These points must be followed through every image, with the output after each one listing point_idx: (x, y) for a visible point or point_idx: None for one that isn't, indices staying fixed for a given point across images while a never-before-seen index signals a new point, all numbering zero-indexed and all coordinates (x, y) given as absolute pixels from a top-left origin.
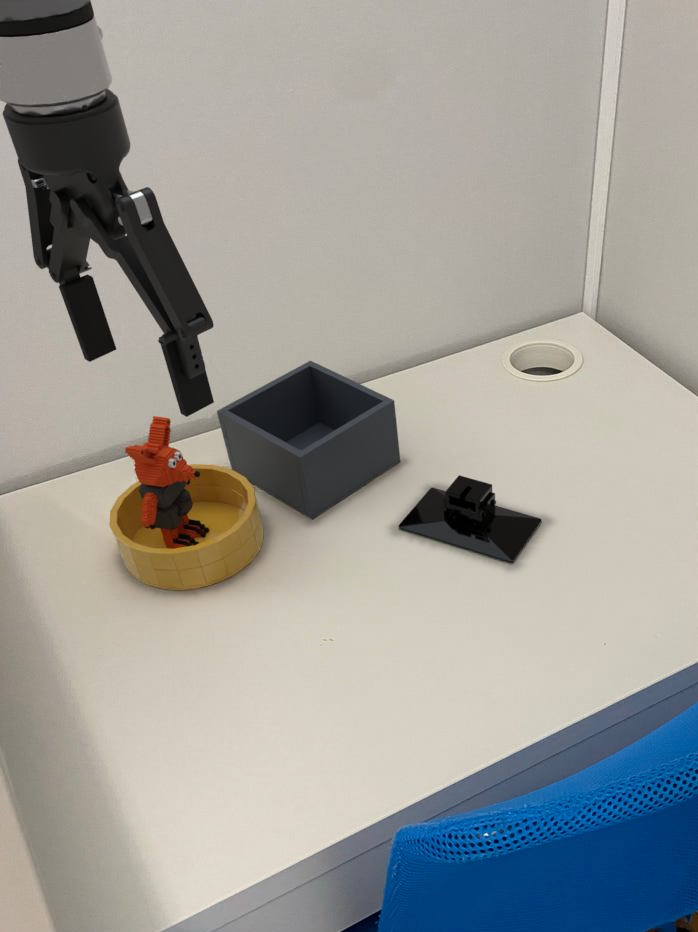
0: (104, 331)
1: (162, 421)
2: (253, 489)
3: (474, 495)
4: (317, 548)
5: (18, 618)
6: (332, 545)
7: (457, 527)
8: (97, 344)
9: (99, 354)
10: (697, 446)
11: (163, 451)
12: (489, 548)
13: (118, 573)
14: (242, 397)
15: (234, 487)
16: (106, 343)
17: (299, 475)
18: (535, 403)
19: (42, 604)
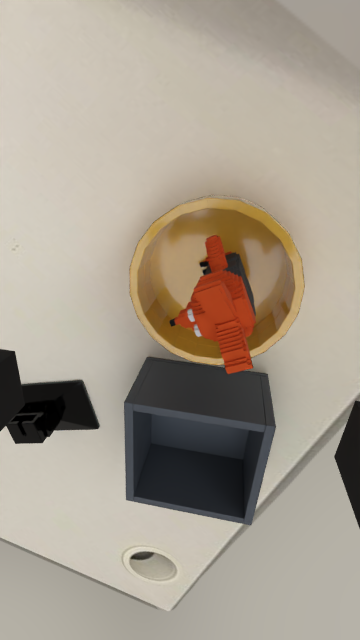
0: (354, 492)
1: (231, 364)
2: (169, 351)
3: (13, 428)
4: (114, 330)
5: (301, 39)
6: (107, 339)
7: (41, 399)
8: (356, 450)
9: (349, 428)
10: (8, 519)
11: (208, 323)
12: None
13: (251, 189)
14: (266, 456)
15: (210, 349)
16: (347, 462)
17: (139, 386)
18: (118, 527)
19: (293, 83)
